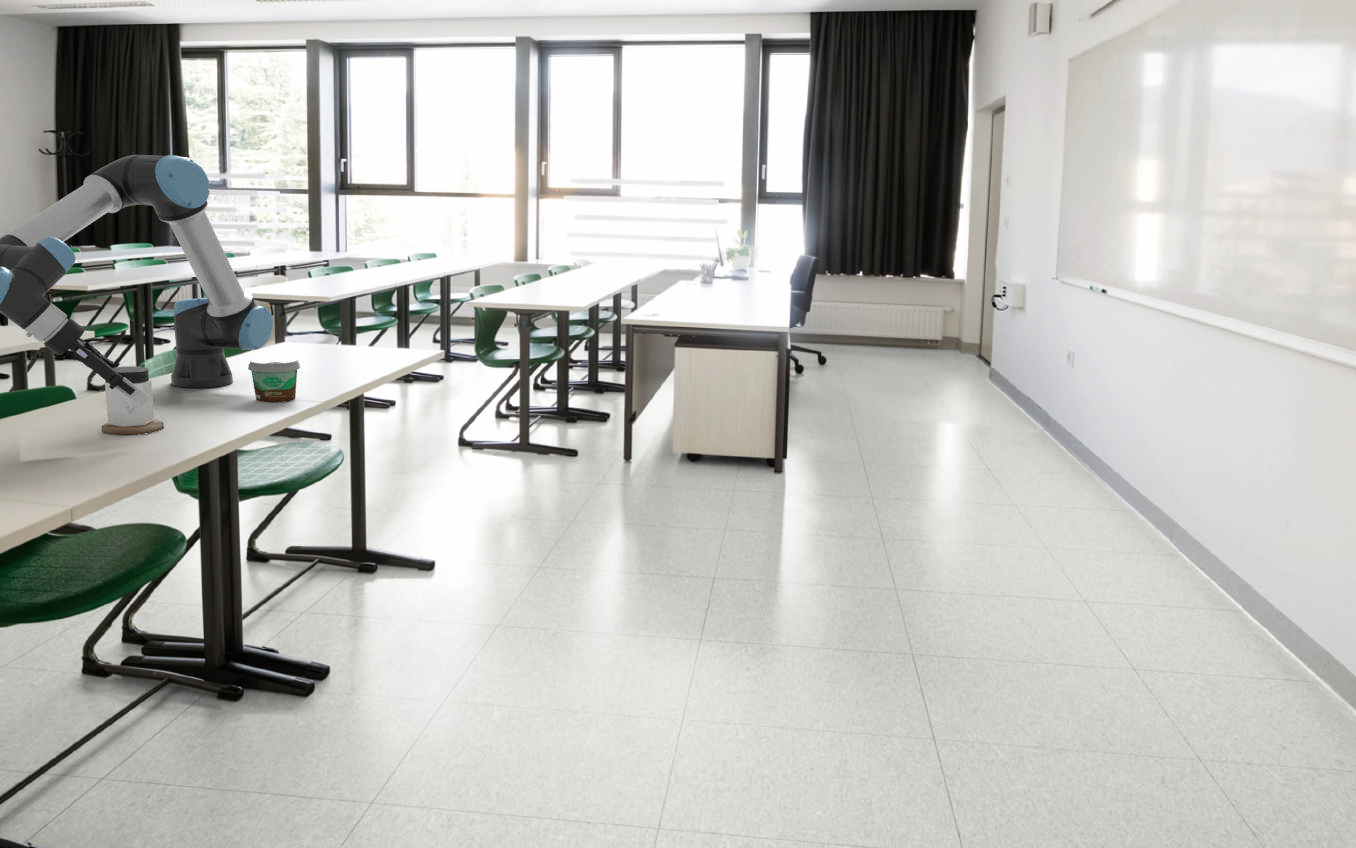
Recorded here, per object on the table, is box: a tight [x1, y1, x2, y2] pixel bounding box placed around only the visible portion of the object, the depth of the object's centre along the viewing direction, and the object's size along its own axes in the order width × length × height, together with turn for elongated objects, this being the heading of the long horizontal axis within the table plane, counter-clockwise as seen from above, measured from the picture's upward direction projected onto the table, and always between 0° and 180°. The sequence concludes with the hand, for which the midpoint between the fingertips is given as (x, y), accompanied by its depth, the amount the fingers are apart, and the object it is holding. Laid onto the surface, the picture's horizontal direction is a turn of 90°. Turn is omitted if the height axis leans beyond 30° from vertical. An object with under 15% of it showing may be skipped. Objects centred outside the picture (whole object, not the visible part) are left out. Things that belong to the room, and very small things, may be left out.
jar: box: [104, 365, 155, 427], centre depth 221 cm, size 9×8×12 cm
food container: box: [247, 359, 301, 404], centre depth 255 cm, size 12×6×10 cm, turn 117°
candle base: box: [101, 418, 165, 436], centre depth 222 cm, size 12×12×1 cm
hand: (142, 396), depth 221 cm, fingers open, 13 cm apart
